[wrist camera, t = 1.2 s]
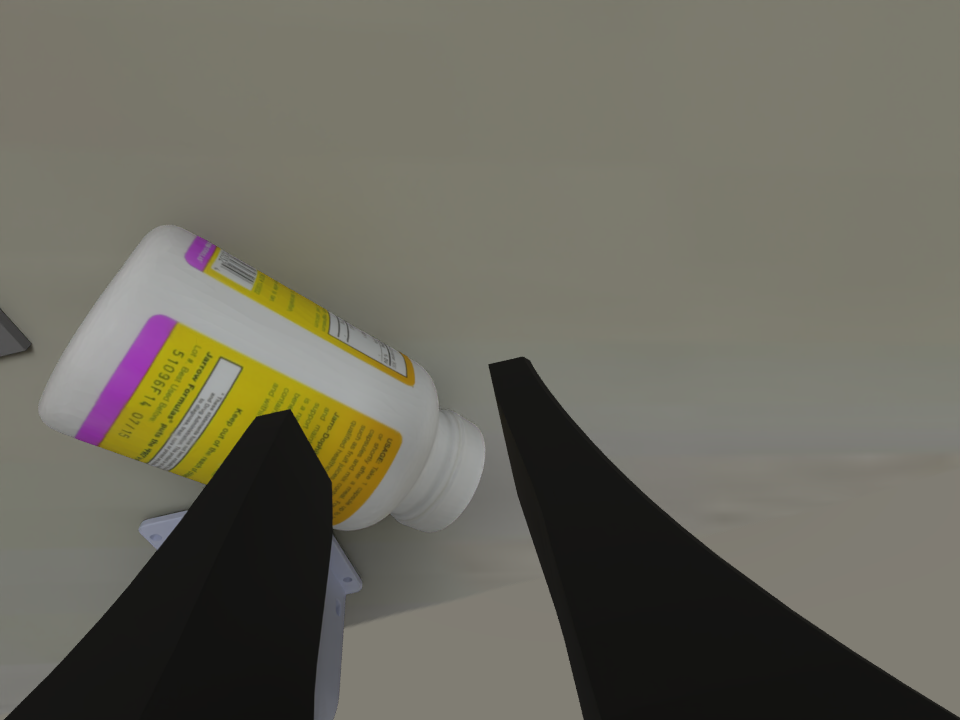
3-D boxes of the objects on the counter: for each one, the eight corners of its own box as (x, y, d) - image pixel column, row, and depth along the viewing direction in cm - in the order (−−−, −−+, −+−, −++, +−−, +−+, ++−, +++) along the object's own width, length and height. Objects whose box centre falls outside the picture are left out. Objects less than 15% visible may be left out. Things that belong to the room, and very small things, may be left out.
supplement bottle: (10, 451, 15) (383, 575, 21) (44, 358, 11) (496, 546, 17) (128, 285, 19) (413, 429, 25) (186, 171, 15) (511, 377, 21)
